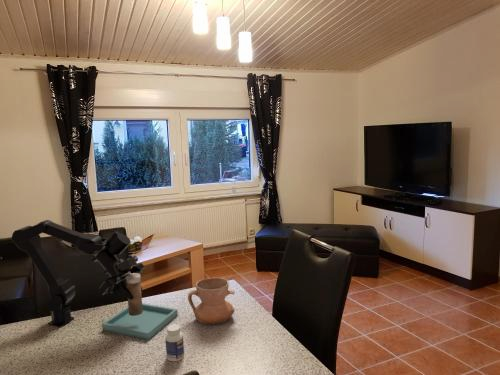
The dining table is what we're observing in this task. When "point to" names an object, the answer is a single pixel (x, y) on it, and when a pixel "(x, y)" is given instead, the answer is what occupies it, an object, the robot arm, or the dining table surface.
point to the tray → (140, 321)
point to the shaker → (134, 294)
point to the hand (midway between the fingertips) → (137, 295)
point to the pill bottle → (174, 343)
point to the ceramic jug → (212, 301)
